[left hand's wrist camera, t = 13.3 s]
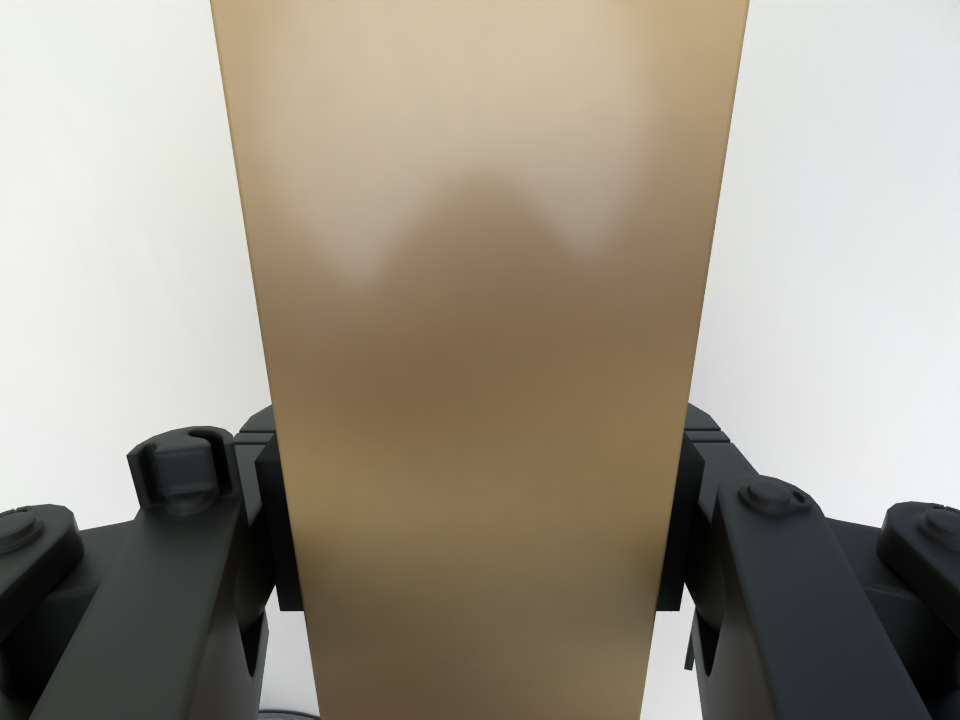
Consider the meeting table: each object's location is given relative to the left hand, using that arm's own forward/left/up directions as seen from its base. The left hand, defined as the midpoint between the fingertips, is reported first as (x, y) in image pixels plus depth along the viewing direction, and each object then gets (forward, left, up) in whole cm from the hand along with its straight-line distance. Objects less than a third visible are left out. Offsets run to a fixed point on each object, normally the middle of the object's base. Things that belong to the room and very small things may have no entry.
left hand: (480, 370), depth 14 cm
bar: (+8, +3, -1) cm, 8 cm away
